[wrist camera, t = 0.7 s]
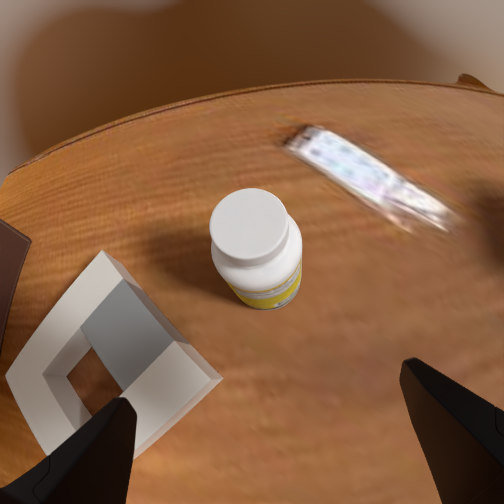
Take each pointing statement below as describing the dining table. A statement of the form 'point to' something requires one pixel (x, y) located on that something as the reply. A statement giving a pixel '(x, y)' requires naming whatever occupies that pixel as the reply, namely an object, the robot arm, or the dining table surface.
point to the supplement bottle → (257, 248)
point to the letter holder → (10, 267)
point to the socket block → (108, 359)
